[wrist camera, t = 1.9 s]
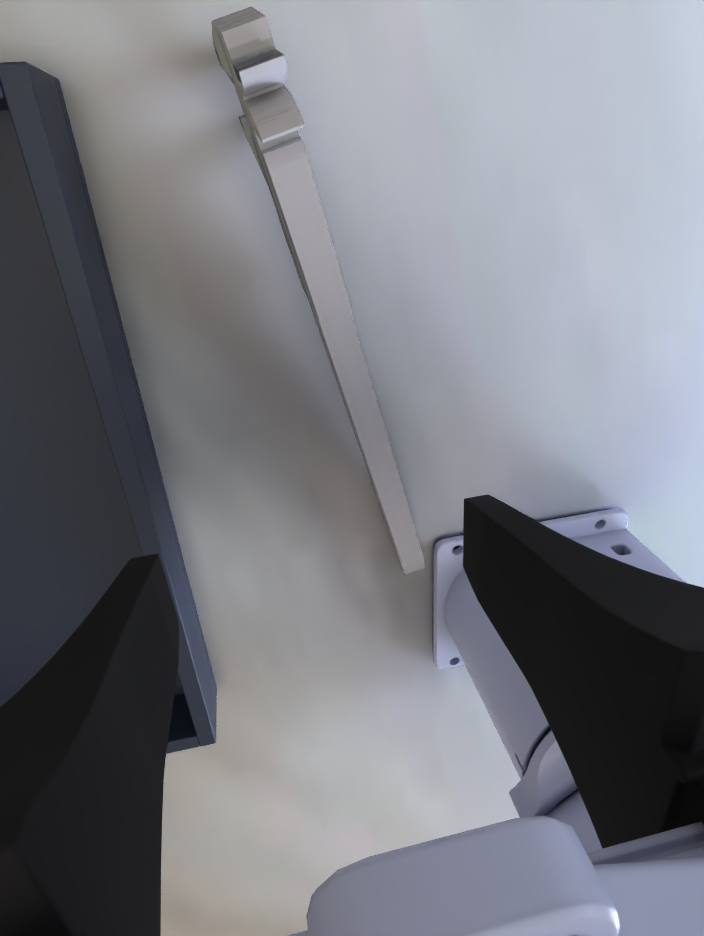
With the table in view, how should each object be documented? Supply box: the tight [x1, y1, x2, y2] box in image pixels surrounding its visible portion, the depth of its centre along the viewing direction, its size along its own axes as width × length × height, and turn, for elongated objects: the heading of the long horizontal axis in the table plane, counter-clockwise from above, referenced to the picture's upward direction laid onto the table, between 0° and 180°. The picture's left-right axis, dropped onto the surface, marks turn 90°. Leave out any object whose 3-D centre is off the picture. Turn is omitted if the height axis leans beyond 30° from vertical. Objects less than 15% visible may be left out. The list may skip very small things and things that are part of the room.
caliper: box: [212, 7, 425, 575], centre depth 18 cm, size 20×1×6 cm, turn 18°
